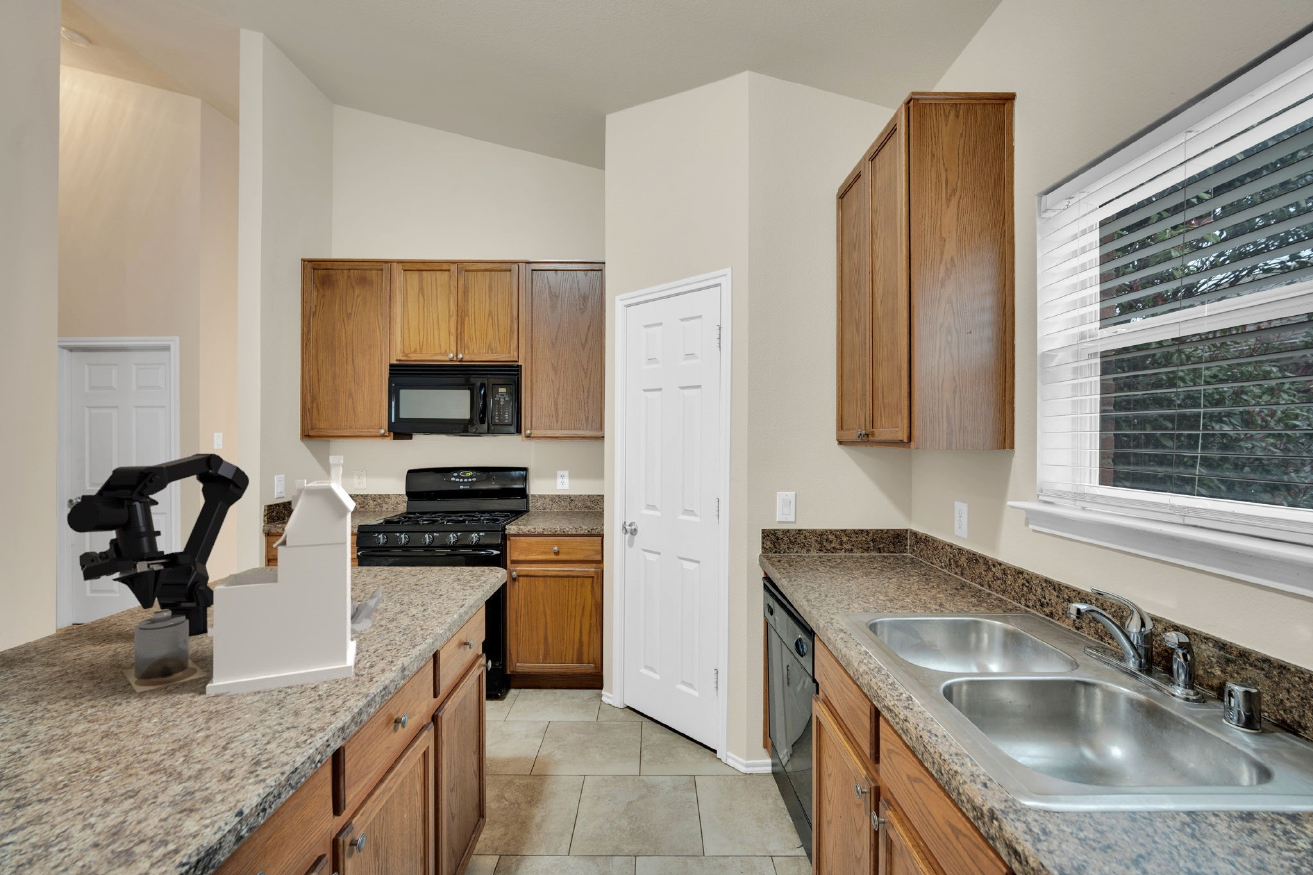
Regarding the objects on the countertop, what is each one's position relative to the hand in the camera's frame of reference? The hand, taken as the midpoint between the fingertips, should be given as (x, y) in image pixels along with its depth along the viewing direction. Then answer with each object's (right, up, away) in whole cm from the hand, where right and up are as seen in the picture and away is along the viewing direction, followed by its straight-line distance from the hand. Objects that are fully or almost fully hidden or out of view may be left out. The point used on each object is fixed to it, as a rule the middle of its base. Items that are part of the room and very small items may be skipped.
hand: (148, 608), depth 114 cm
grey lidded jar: (+8, -10, -6) cm, 14 cm away
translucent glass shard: (+28, -11, +22) cm, 37 cm away
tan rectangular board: (+9, -10, -7) cm, 15 cm away
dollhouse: (+30, -11, -5) cm, 32 cm away
